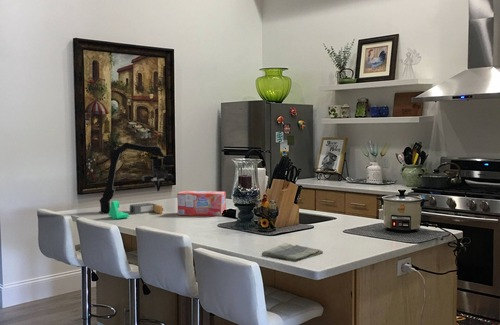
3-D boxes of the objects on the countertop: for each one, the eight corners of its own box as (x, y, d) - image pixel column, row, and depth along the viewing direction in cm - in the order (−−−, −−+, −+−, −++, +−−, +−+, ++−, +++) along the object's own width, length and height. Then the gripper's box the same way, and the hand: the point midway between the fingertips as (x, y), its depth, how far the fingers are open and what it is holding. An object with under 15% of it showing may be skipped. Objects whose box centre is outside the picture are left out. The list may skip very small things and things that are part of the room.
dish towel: (296, 263, 215) (296, 255, 215) (260, 256, 227) (260, 249, 227) (324, 254, 229) (324, 246, 229) (289, 248, 241) (289, 241, 241)
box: (226, 213, 339) (226, 190, 338) (221, 216, 327) (220, 192, 326) (183, 212, 344) (183, 190, 344) (177, 216, 332) (176, 192, 331)
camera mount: (129, 218, 326) (129, 201, 326) (117, 220, 322) (116, 202, 321) (121, 216, 336) (120, 199, 336) (109, 217, 332) (108, 200, 331)
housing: (128, 213, 346) (128, 204, 346) (149, 210, 354) (149, 202, 354) (133, 214, 340) (132, 205, 340) (154, 211, 348) (154, 203, 348)
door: (160, 214, 339) (160, 206, 339) (154, 212, 348) (153, 204, 348) (163, 213, 340) (163, 205, 340) (156, 211, 349) (156, 203, 349)
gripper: (146, 168, 342) (147, 193, 343) (175, 166, 350) (176, 191, 351) (141, 166, 352) (142, 191, 353) (169, 165, 360) (170, 189, 361)
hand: (158, 191), depth 354 cm, fingers closed
